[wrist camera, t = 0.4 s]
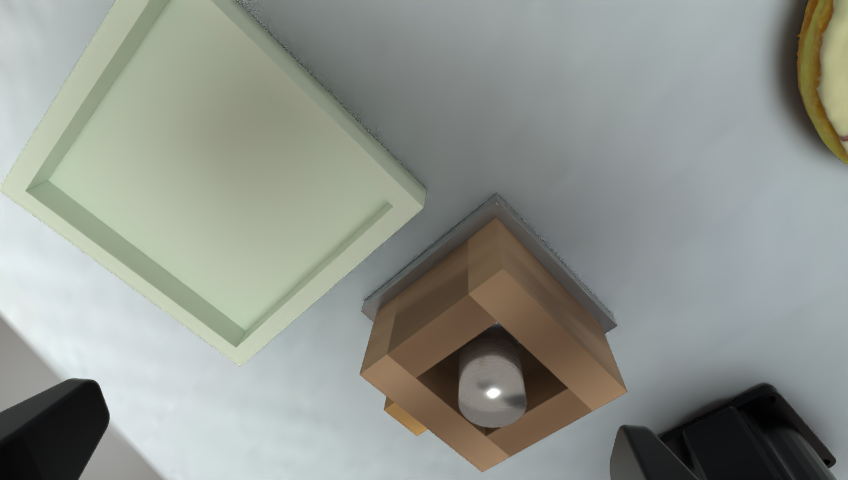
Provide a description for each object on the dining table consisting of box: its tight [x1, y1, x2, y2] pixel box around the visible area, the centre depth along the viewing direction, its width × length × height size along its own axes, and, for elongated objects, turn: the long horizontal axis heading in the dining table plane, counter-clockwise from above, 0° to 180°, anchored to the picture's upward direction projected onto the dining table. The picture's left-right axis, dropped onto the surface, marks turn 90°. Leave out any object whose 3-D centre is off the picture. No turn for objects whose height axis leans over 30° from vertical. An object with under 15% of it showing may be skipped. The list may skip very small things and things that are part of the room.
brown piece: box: [360, 217, 627, 472], centre depth 20 cm, size 7×8×4 cm
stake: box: [361, 193, 617, 428], centre depth 20 cm, size 8×8×6 cm
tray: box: [0, 0, 427, 367], centre depth 20 cm, size 12×12×2 cm
